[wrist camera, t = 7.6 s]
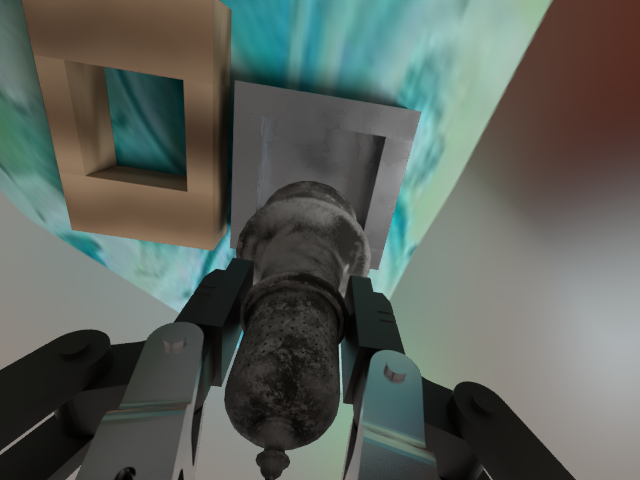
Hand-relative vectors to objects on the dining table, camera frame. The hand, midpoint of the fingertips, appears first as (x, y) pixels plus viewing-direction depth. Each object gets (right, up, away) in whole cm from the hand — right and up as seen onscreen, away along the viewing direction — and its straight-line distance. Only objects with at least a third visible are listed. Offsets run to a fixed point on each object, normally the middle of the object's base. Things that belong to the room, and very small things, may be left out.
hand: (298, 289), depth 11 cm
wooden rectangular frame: (-13, +12, +15) cm, 23 cm away
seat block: (+1, +8, +16) cm, 18 cm away
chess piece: (0, +2, +5) cm, 6 cm away
